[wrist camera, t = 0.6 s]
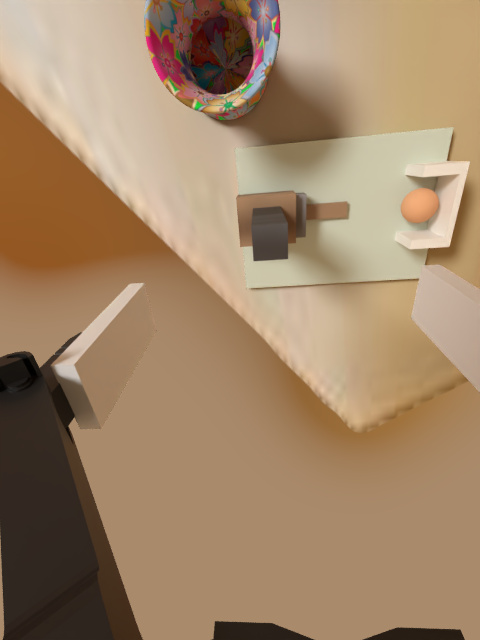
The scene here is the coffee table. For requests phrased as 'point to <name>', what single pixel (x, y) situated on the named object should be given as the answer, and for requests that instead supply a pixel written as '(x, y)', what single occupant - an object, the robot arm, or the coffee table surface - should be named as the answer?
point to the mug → (214, 51)
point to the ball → (419, 205)
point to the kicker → (271, 222)
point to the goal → (449, 197)
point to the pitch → (343, 205)
